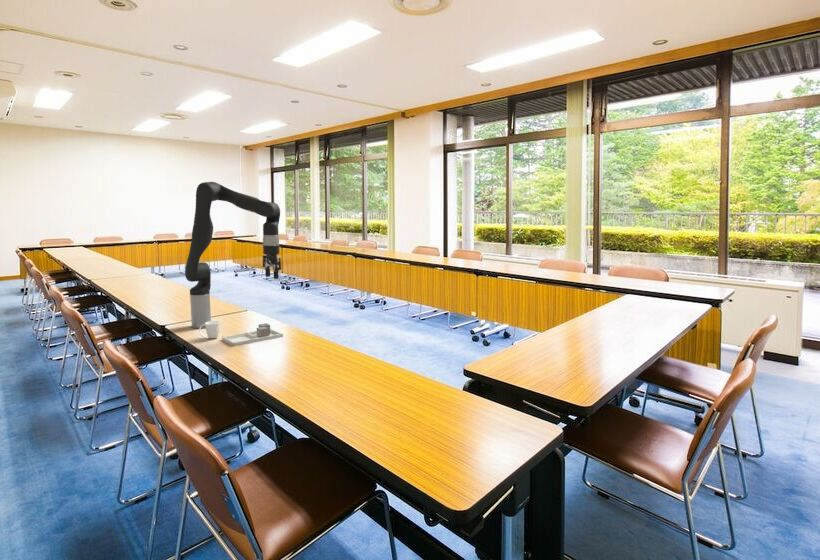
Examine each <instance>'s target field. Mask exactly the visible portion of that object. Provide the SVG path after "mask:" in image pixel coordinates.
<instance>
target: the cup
mask: <svg viewBox="0 0 820 560" xmlns="http://www.w3.org/2000/svg"><path fill="white" fill-rule="evenodd" d="M203 325H204V326H205V327H206V328H205V331H206V335H207V336H205V335H204V334H203V333H202V328H201V327H202V325H201V326H200V328H198V330H199V331H198V332H199V334H200V335H201V337H203V338H204V339H217V338H219V334H220V328H221V327H220V326H221V321H218V320H211V321H209V322H205V324H203Z"/></svg>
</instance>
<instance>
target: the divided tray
mask: <svg viewBox="0 0 820 560" xmlns="http://www.w3.org/2000/svg"><path fill="white" fill-rule="evenodd" d="M283 337H284V334H283V333H282V332H279V331H277V330H275V329H272V328H270V335H269V336H266V337H261V338H258V337H257V330H253V331H246V332H242V333H236V334H235V333H234V334H231V335H225V336H221V340H222V341H223V342H224V343H227V344H228V345H231V346H232V347H236V346H243V345H247V344H252V343H259V342H262V341H267V340H268V341H269V340H274V339H278V338H283Z"/></svg>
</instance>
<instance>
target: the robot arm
mask: <svg viewBox="0 0 820 560" xmlns="http://www.w3.org/2000/svg"><path fill="white" fill-rule="evenodd" d="M196 187H197V188H196V191H195V211H194V218H193V225H192V230H191V231H192V232H191V240H190V245H189V252H188V255H187V260H186V263H185V269H184V275H185V279H186V280H187V281H188V282H192V283H193V282H197V284H196V285H194V286H192V287H191V288H190V289H189V299H190V317H191V319H190V320H191V328H192V329H200V326H201V325H202V327H201V329H206V327H205V326H204V325H203V324H205V322H209V321H212V315H211V314H212V313H211V292H210V290H211V287H212V286H211V284H212V283H211V278H212V277H211V275H212V274H211V267H210V265H209V263H207V262H202V261H201V262H200V259H201V256H203V254H204V253H205V251H206V250H207V249H208V247H209V246H210V245H211V243H212V239H213V236H214V235H213V234H214V224H213V221H212V218H211V208H212V203H213V202H216V201H221V202H228V203H229V204H232V205H234V206H236V207H237V208H239V209H242V210H244V211H248V212H251V213H255V214H256V215H259V216H261V217H265V218H266V219H265V222H264V223H263V225H262V231H263V232H262V252H263V253H262V268H264V270H265V271H264V272H265V277H266V278H269V277H271V268H272V269H273V279H274V280H277V279H279V271H281V270H282V264H281V263H282V261H281V260H282V259H281V257H278V255H279V254H280V238H279V237H280V236H279V223H280V218H281V209H280V206H279V205H278V203H277V202H272V201H271V202H270V201H265V200H262V199H261V200H260V199H259V198H258V197H255V196H251V195H248V194H244V193H241V192H237V191H235V190H233V189H230V188H228V187H226V186H224V185H222V184H220V183H218V182H215V181H206V182H201V183H199V184H198V186H196Z"/></svg>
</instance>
